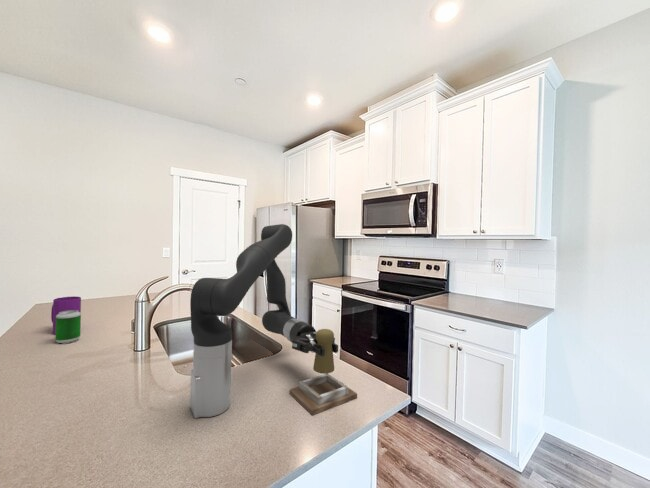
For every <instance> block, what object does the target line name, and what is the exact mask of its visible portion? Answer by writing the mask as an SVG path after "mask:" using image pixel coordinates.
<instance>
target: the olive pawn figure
mask: <svg viewBox="0 0 650 488" xmlns="http://www.w3.org/2000/svg"><path fill="white" fill-rule="evenodd" d="M316 332H317V333H316V340H317V344H318V345H319V346H321V347H323V348H324V349H325V355H324V356H320V355H318V354H316V353H315V356H314V362H313V368H312V369H313V371H314V372H316V373H318V374H321V375H323V374H327V373H328V374H331V373H333V372H334V371H335V361H334V352H333V349H332V341H333V340H334V338H335V334H334V332H333V330H331V329H328V328H321V329H318V330H316Z"/></svg>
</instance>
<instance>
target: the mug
mask: <svg viewBox="0 0 650 488" xmlns="http://www.w3.org/2000/svg"><path fill="white" fill-rule="evenodd" d="M52 302H53V304H52V305H51V313H50V318H51V323H52V334H54V335H56V315H58V314H59V312H63V311H69V310H77V311H78V312H80V313H81V312H82V309H81V308H82V297H81V296H63V297H56V298H53V301H52ZM81 314H82V313H81Z"/></svg>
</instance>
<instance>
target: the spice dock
mask: <svg viewBox="0 0 650 488" xmlns="http://www.w3.org/2000/svg"><path fill="white" fill-rule="evenodd" d="M288 390H289V395H290V396H291V397H292V398H293V399H295V401H296V402H298V403H299V405H301V406H302V408H304V409H305V410H306V411H307V412H308V413H309V414H310V415H311V416H314V415H317V414H320V413H323V412H325V411H326V410H330V409H333V408H335V407H337V406H340V405H342V404H345V403H347V402H350V401H352V400H355V399H357V398H358V393H357V392H356V391H354V390H352V388H349V387H348V386H347V385H345V384H344V383H342V382H341V381H339V380H338V379H336V378H335V377H333V376H332V375H331V374H330V373H327V374H321V375H318V376H315V377H311V378H307V379H303V380H300V381H298V386H296V387H294V388H290V389H288Z"/></svg>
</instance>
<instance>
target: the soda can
mask: <svg viewBox="0 0 650 488" xmlns="http://www.w3.org/2000/svg"><path fill="white" fill-rule="evenodd" d="M81 316H82V313H80V312H78V311H77V310H69V311H63V312H59V314H58V315H56V334H55V342H56V343H58V344H59V343H67V344H71V343H70V342H72V343H74V342H73V341H75V342H77V341H79V339H80V338H81V325H82V324H81V321H82V317H81ZM76 340H77V341H76Z"/></svg>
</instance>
